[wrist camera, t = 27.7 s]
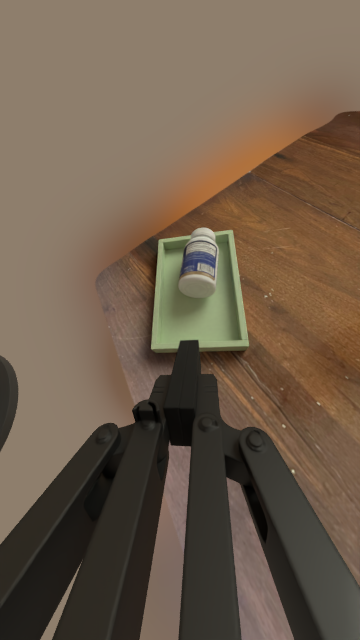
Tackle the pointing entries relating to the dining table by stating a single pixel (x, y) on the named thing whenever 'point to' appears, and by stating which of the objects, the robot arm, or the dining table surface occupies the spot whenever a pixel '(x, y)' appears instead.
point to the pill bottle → (199, 265)
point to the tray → (198, 302)
